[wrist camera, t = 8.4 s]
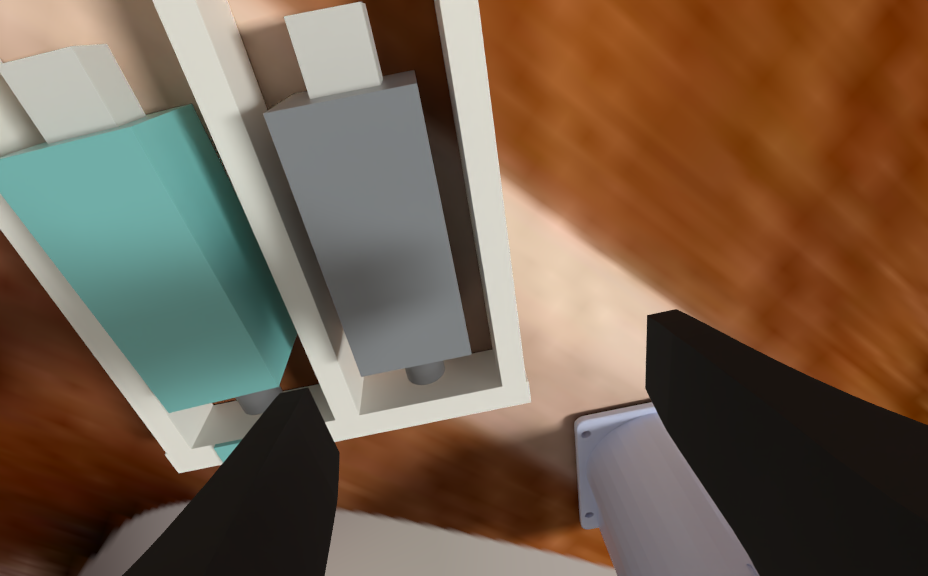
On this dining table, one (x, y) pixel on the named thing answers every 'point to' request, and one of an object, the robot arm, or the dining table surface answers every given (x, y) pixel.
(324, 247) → the grey plug
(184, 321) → the teal plug
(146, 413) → the cable comb
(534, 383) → the dining table surface
